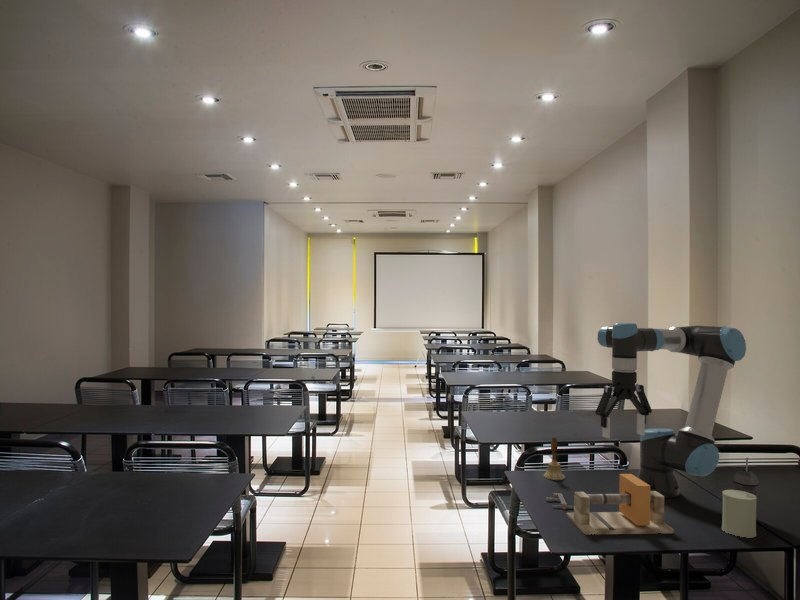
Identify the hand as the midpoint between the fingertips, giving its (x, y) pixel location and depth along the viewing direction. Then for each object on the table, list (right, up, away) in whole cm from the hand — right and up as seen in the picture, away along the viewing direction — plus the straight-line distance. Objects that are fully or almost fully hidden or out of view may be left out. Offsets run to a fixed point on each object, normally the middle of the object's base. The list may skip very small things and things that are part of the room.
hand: (623, 436), depth 184 cm
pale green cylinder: (+32, -28, -9) cm, 43 cm away
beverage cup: (+41, -28, +3) cm, 49 cm away
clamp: (-17, -27, +11) cm, 34 cm away
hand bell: (-11, -27, +42) cm, 51 cm away
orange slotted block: (+1, -25, -5) cm, 25 cm away
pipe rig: (-4, -27, -5) cm, 27 cm away
